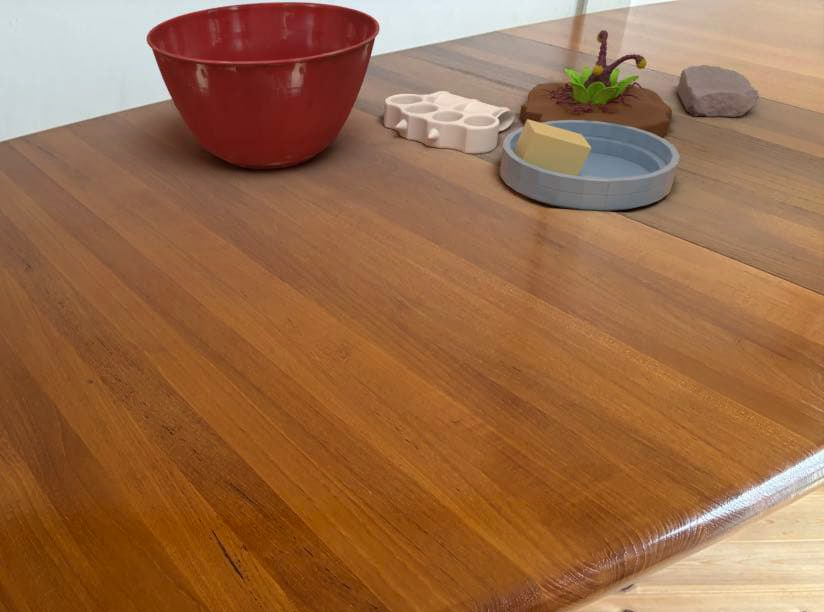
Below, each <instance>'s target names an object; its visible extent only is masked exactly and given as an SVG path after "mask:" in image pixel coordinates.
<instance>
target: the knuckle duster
mask: <svg viewBox="0 0 824 612" xmlns="http://www.w3.org/2000/svg"><path fill="white" fill-rule="evenodd" d="M383 108H384V109H383V126H384V127H385V128H386V129H392V130H394V131H397V132H398V133H399V136H400V137H402V138H404V139H406V140H409V141H414V142H415V141H416V142H419V143H421V144H423V145H424V146H425V147H431V148H435V149H436V148H437V149H449V150H455V151H460V152H462V153H464V154H471V155H473V154H474V155H476V154H477V155H478V154H486V153H489V152H492V151H493V150H495V149H496V147H497V145H498V137H499V133H500V132H502V131H505V130H506V129H508V128H509V127H510V126H511V125H512V124H513V122H514V120H515V112H514V111H513V110H511V109H510V108H509V107H506V106H501V107H500V106H496V105H493V104H489V103H486V102H483V101H480V100H478V99H476V98H467V97H464V96H460V95H456V94H453V93H450V92H449V91H447V90H441V91H440V90H439V91H435V92H431V93H430V94H417V93H416V94H415V93H399V94H393V95H390V96H387V98H386V99H384V107H383Z"/></svg>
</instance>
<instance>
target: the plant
mask: <svg viewBox="0 0 824 612" xmlns="http://www.w3.org/2000/svg"><path fill="white" fill-rule="evenodd" d="M608 38H609V33H608V31H607V30H606V29H605V30H600V32H598V34H597V35H596V41H597V42H598V43H599V44H600V46H599V52H598V56H597V61H596V62H595V65H594V66H593V67H592V69H591V68H589V67H588V66H586V65H584V66H583V67H582V69H581V74H580V73H579V72H577V71H576V70H573V69H571V68H567V67H566V68H565V69H564V73H566V74H567V75H568V77H569V79H570V80H569V81H568V82H558V81H556V82H545V83H544V82H543V83H537V84H536V85H534V86H533V87H532V89H530V90H529V92H528V96H527V102H525V103H523V104H521V106H520V114H519V120H521V121H523V126H524V125H525V123H526V121H527V119H528V120H532V121H536V122H539V123H542V122H549V121H561V120H585V121H599V122H607V123H615V124H620V125H625V126H630V127H634V128H638V129H641V130H644V131H647V132H650V133H653V134H655V135H657V136H659V137H661V138H665V137H667V136H668V134H669V130H670V127H671V126H670V125H671V121H672V120H671V119H672V115H673V109H672V107H670V106H669V105H668V104H667V103H665V101H664V100H663V99H662V97H661V96H660V95H659V94H658V93H657V92H655V91H654V90H652V89H649V88H646V87H642V85H640V83H638V82H636V81H637V80H638V79H639V78H640V75H631V76H628V77H626V78H623V79H621V80H619V81H618V79H619V76H620V73H621V70H620V68H618V66H620V65H621V64H622V63H624V62H625V61H628V60H634V61H635V67H636V68H637V69H639V70H642V69H646V68H645V67H646V66H647V63H648V61H647V59H646V58H645V57H644V56H643V55H640V54H636V53H633V54H625V55H623V56H621V57H620V58H617V59H616V60H615V61H614V62H612V63H611V64H609V65H607V54H608V52H607V50H608V47H607V45H608V41H607V40H608Z"/></svg>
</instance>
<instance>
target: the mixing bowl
mask: <svg viewBox="0 0 824 612" xmlns="http://www.w3.org/2000/svg"><path fill="white" fill-rule="evenodd" d="M380 29H381V28H380V23H379V22H378V21H377V19H376V18H374V17H373V16H372V15H370V14H368V13H366V12H363V11H360V10H358V9H355V8H350V7H347V6H342V5H336V4H327V3H319V2H308V1H307V2H303V1H273V2H254V3H253V2H252V3H243V4H233V5H226V6H225V5H224V6H217V7H211V8H207V9H202V10H196V11H193V12H188V13H184V14H180V15H177V16H174V17H172V18H169V19H167V20H164V21H162V22H160V23H158V24H157V25H155V26H153V27H152V28H151V29H150V30H149V32H148V33H147V35H146V43H147V45H148V46H149V47H150V49H151V50H152V53H153V56H154V59H155V61H156V64H157V68H158V70H159V72H160V75H161V78H162V80H163V82H164V85H165V87H166V89H167V91H168V94H169V96H170V98H171V100H172V102H173V103H174V105H175V108H176V109H177V111H178V113H179V114H180V117H181V119H182V120H183V121H184V123H185V125H186V126H187V127H188V129H189V131H190V132H191V134H192V136H194V138H195V139H196V141H197V142H198V143H199V144H200V146H201V147H203V148H204V149H205V150H207V151H208V152H209V153H211V154H212V155H214V156H216V157H217V158H219V159H222V160H223V161H225V162H226V163H229V164H230V165H233V166H236V167H239V168H240V167H241V168H247V169H257V170H258V169H259V170H270V169H282V168H288V167H293V166H296V165H299V164H300V165H301V164H303V163H305V162H308V161H310V160H311V159H313V158H314V157H316V155H317V154H320V153H321V152H322V151H324V150H325V149H327V148H328V146H330V145H331V144H332V143H333V142H334V141H335V140H336V138H338V136H339V134H340V133H341V131H342V129H343V127H344V125H345V124H346V121H348V119H349V116H350V114H351V112H352V110H353V108H354V105H355V104H356V101H357V99H358V96H359V94H360V91H361V88H362V86H363V83H364V80H365V77H366V74H367V72H368V71H367V70H368V68H369V64H370V60H371V57H372V53H373V49H374V45H375V41H376V37H377V36H378V35H379V33H380Z"/></svg>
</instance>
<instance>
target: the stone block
mask: <svg viewBox="0 0 824 612" xmlns="http://www.w3.org/2000/svg"><path fill="white" fill-rule="evenodd" d="M676 91H677V95H678V97H679V99H680V101H681V103H682V104H683V107H684V109H685V111H686V112H688V113H689V114H691V116H693V117H703V116H704V117H707V118H708V117H709V118H710V117H725V118H726V117H727V118H729V117H730V118H738V117H741V116H743V115H745V113H747V112H749V110H751V109H752V108H753V107H754V106H755V105H756V103H757V101H758V100H759V97H760V94H759V93H758V92H759V91H758V90H756V88H754V87H753V86H752V83H751V82H750V80H748V79H747V77H745V76H744V75H743V74H741V73H739V72H737V71H736V70H733V69H732V70H731V69H728V68H722V67H721V66H714V65H707V64H702V65H691V66H689V67H687V68H684V69H683V70H682V71H681V73H680V76H679V81H678V84H677V87H676Z"/></svg>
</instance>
